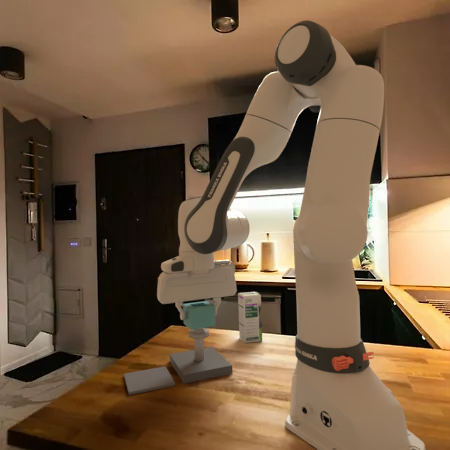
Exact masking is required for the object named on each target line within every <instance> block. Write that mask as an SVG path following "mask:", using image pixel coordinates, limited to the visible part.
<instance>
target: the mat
mask: <svg viewBox="0 0 450 450" xmlns="http://www.w3.org/2000/svg"><path fill="white" fill-rule="evenodd" d="M123 376H124V381H125V384H126V388H127V394H128V396H131V395H132V396H133V395H137V394H141V393H146V392H151V391H156V390H160V389H166V388H170V387H175V386H176V382H175V380H174V379H173V377H172V375H171V373H170V372H169V369H167V366H165V365H164V366H159V367H154V368H148V369H143V370H137V371H132V372H127V373H123Z"/></svg>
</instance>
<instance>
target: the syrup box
mask: <svg viewBox="0 0 450 450" xmlns="http://www.w3.org/2000/svg"><path fill="white" fill-rule="evenodd" d="M237 303H238V305H237V306H238V329H239V330H238V331H239V339H240V340H241V341H243V342H244V344H248V343H257V342H263V325H262V324H263V322H262V319H263V318H262V316H263V315H262V296H261V294H260V293H259V292H257V291H250V292H249V291H248V292H238V293H237Z"/></svg>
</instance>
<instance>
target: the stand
mask: <svg viewBox="0 0 450 450" xmlns="http://www.w3.org/2000/svg"><path fill="white" fill-rule="evenodd" d="M187 332H188V333H187V334H188V336H187V337H188V338H190V339H193V348H194V349H193V350H185V351H184V350H183V351H178V352H174V353H169V363H170V364H171V366H172V367H173V369H174V371H175V372H176V373H177V375H178V376H179V379H180V380H181V381H182V383H183V384H184V385H185V384H188V383H189V384H190V383H194V382H199V381H203V380H209V379H214V378H218V377H223V376H228V375H232V374H233V364H232V363H231V362H230V361H229V360H227V359H226V358H225V357H224V356H223V355H222V354H220V353H219V352H218V350H217V349H215V348H214V347H213V346H208V347H205V341H204V340H205V339H206V338H208V337H210V330H209V329H207V328H200V329H194V330H190V329H189V330H188V331H187Z"/></svg>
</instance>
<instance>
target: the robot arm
mask: <svg viewBox="0 0 450 450" xmlns="http://www.w3.org/2000/svg"><path fill="white" fill-rule="evenodd" d="M274 64H275V67H276V68H277V71H273V72H270V73H269V74H267V75H265V77H264V78H263V80H262V82H261V83H260V85H259V86H258V88H257V90H256V92H255V93H254V96H253V98H252V99H251V102H250V104H249V106H248V109H247V111H246V114H245V116H244V119H243V120H242V122H241V125H240V127H239V130H238V132H237V133H236V135H235V137H234V138H233V140H231V142H230V143H229V145H228V146H227V147H226V149H225V150H224V153H223V154H222V156H221V158H220V160H219V162H218V164H217V165H216V168H215V169H214V171H213V174H212V176H211V178H210V180H209V183H208V184H207V186H206V188H205V190H204V193H203V195H202V196H197V197H192V198H191V197H190V198H188V199H185V200H184V201H182V202H181V204H180V206H179V209H178V213H177V214H178V215H177V216H178V217H177V233H178V237H179V242H180V243H179V247H178V255H177V256H175V257H173V258H171V259H167V260H166V261H163V262H162V263H160V264H161V265H160V268H161V269H160V270H161V271H162V272H161V273H160V274H159V276H158V279H157V288H156V291H157V292H156V297H157V300H158V301H159V303H161V304H162V305H167V304H174V303H175V308H177V310H178V312H179V318H180V320H181V321H184V320H186V319H188V317H187V315H188V312H186V311H183V304H184V302H190V301H192V302H193V301H199V300H208V299H212V300H213V301H214V303H213V305H215V316H217V315H218V308H219V306H220V305H221V303H222V298H224V297H232V296H235V295H236V293H237V291H238V289H237V281H236V276H235V274H236V267H235V266H236V265H235V264H234V262H232V261H231V260H229V259H224V260H215V253H216V252H219V251H223V250H224V251H226V250H228V249H229V250H230V249H234V248H237V247H239V246H242V245H243V244H244V243H245V242H247V240H248V237H249V234H250V223H249V220H248V218H247V217H246V215H245V214H244V213H242V212H241V211H238V210H236V209H232V208H231V206H232V205H233V203H234V200H235V198H236V196H237V194H238V192H239V190H240V188H241V185H242V183H243V182H244V180H245V178H247V176H249V174H250V173H252V171H254V170H256V169H257V168H260V167H263V166H265V165H268V164H270V163H273V162H275V161H276V160H277V159H278V158H279V157H280V155H281V154H282V152H283V151H284V149H285V148H286V146H287V143H288V142H289V139H290V137H291V134H292V133H293V129H294V127H295V125H296V121H297V119H298V117H299V115H300V114H301V113H302V112H303V111H304V110H305V109H307V108H309V110H310V111H311V112H312V113H319V114H318V118H317V123H316V126H315V131H314V136H313V141H312V146H311V152H310V154H309V155H310V156H309V160H308V166H307V172H306V178H305V185H304V190H303V195H302V199H301V200H302V201H301V205H300V211H299V215H298V217H297V218H296V220H295V221H294V224H293V229H292V230H293V231H292V233H293V234H292V235H293V237H292V238H293V257H294V275H295V276H294V277H295V292H296V293H295V295H296V322H297V323H296V326H297V328H296V329H297V334H296V335H295V341H294V349H295V352H294V355H295V357H296V358H297V361H296V365H295V368H294V372H293V374H292V377H291V388H290V389H291V390H290V403H289V405H290V409H289V413H288V415H287V416H286V417H285V422H284V423H285V425H284V426H285V428H286V429H287V430H289V431H290V432H291V433H293V434H294V435H296V436H297V437H299V438H300V439H301V440H303V441H305V443H308V444H309V445H311V446H312V447H313V448H314V449H317V450H426V444H425V443H424V441H422V440H421V439H420V438H419V437H418V436H416V435H415V434H414V433H413V432H411V431H410V430H409V429H408V424H407V419H406V415H405V411H404V409H403V406H402V404H401V402H399V400H398V399H397V398H396V396H395V394H394V392H393V391H392V390H391V389H390V388H388V387H387V386H386V385H385V384H384V382H383V380H381V379H380V377H379V376H378V374H376V373H375V371H374V370H373V369H372V368H371V366H370V364H371V363H370V360H372V359H374V358H375V357H374V356H372V355H373V354H374V353H375V352H374V351H370V352H367V349H366V347H365V344H364V340H363V339H362V338H361V315H360V314H361V313H360V312H361V311H360V310H361V309H360V294H359V290H358V288H357V283H356V282H357V281H356V276H355V270H354V264H353V260H354V259H355V258H357V257H358V255H360V253H361V252H362V251H363V250H364V249H365V246H366V244H367V240H368V218H369V207H370V205H369V204H370V185H371V177H372V171H373V166H374V160H375V155H376V152H377V146H378V141H379V136H380V132H381V127H382V121H383V115H384V104H385V83H384V82H385V81H384V78H383V76H382V74H381V73H380V72H379V71H378V70H376V69H375V68H374V67H371V66H368V65H363V64H358V63H356V62H355V60H353V58H352V56H351V55H350V54H349V53H348V51H347V49H346V48H345V47H344V45H342V43H340V41H339V40H337V38H335V37H334V36H333V35H332V34H330V32H329V31H328V30H327V28H325V27H324V26H323V25H320V24H319V23H317V22H315V21H312V20H302V21H298V22H297V23H294V24H293V25H292V26H290V27H289V28H288V29H286V30H285V32H284V33H283V35H282V36H281V38H280V39H279V41H278V43H277V45H276V48H275V51H274Z"/></svg>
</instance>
